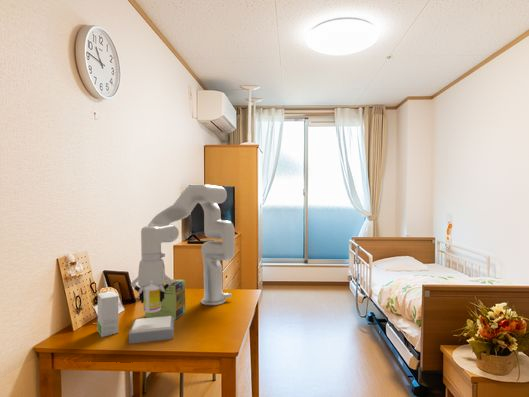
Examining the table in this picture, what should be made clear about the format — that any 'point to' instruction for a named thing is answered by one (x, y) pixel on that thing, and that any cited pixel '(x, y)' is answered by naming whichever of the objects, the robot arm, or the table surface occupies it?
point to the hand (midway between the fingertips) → (152, 301)
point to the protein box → (172, 301)
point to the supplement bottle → (151, 298)
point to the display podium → (152, 329)
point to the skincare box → (107, 313)
